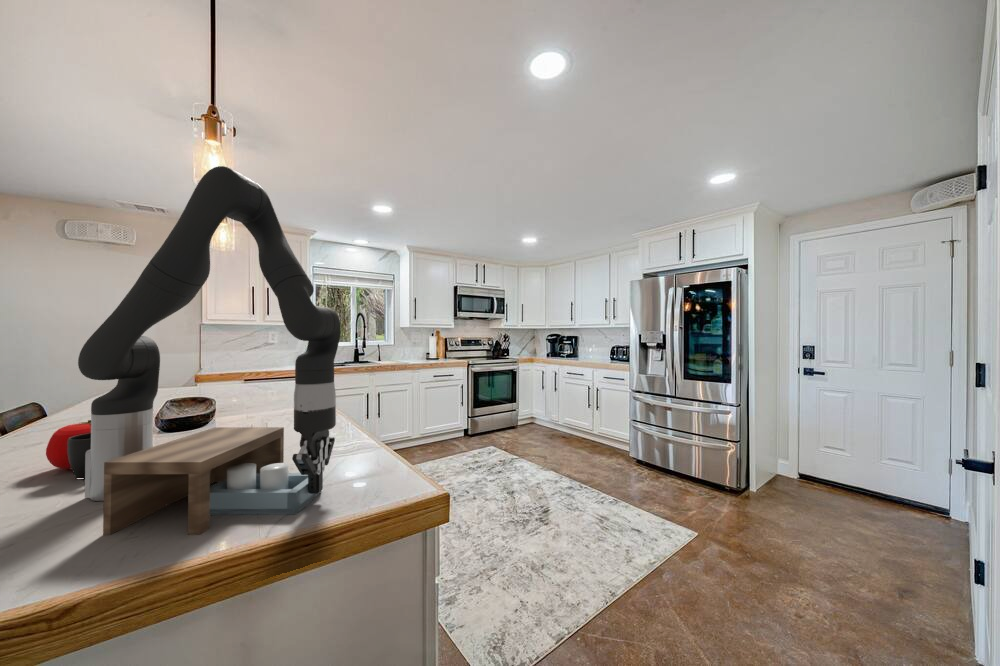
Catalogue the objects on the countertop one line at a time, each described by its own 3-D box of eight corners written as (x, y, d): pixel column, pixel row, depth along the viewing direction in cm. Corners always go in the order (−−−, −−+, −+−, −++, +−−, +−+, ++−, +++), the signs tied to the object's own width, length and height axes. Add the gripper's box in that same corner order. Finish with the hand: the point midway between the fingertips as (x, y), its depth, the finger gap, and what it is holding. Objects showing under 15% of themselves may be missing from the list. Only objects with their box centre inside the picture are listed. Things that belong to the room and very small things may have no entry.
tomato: (27, 477, 86) (28, 427, 86) (83, 458, 100) (84, 415, 100) (90, 474, 88) (91, 425, 88) (137, 456, 101) (138, 414, 102)
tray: (198, 514, 68) (198, 476, 68) (236, 492, 78) (236, 458, 78) (295, 514, 68) (296, 476, 68) (321, 491, 78) (321, 458, 78)
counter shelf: (103, 534, 61) (104, 462, 61) (213, 479, 85) (214, 427, 85) (200, 534, 61) (200, 462, 61) (283, 479, 85) (283, 427, 85)
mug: (82, 487, 81) (82, 443, 81) (60, 478, 86) (61, 437, 86) (132, 474, 88) (132, 434, 88) (109, 467, 93) (110, 429, 93)
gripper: (312, 400, 80) (313, 479, 80) (276, 412, 67) (276, 507, 67) (347, 399, 80) (347, 479, 80) (318, 411, 67) (318, 507, 67)
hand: (315, 492), depth 74 cm, fingers closed
